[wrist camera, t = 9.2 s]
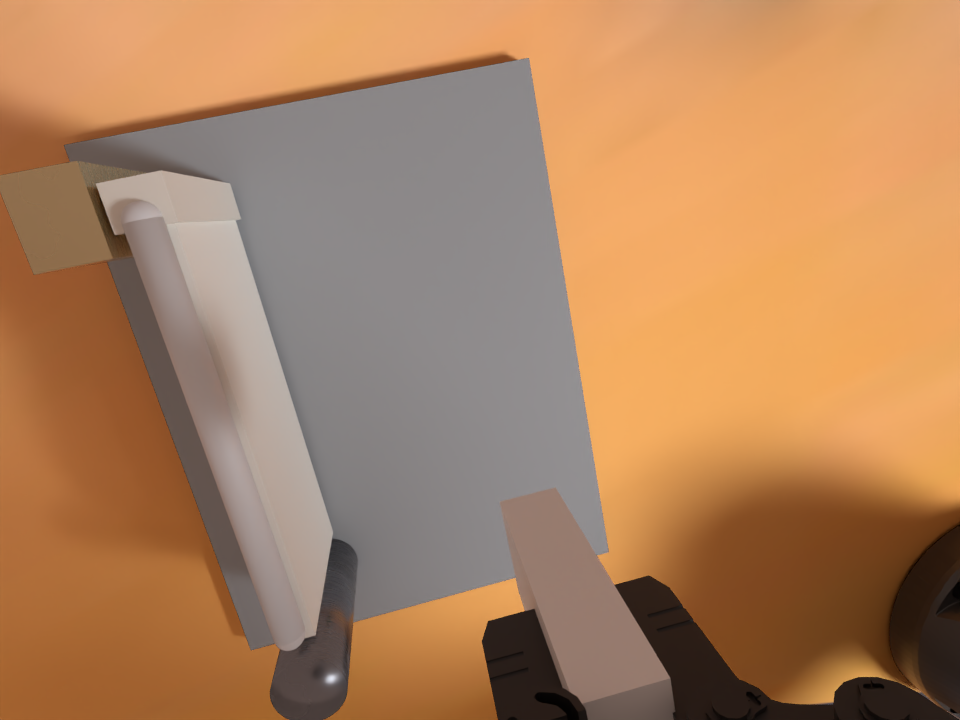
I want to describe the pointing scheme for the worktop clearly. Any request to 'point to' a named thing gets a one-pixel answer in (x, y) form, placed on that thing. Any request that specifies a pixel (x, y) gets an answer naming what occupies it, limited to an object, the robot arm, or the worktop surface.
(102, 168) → the post
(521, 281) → the board
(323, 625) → the hinge post
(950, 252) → the worktop surface
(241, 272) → the rod
